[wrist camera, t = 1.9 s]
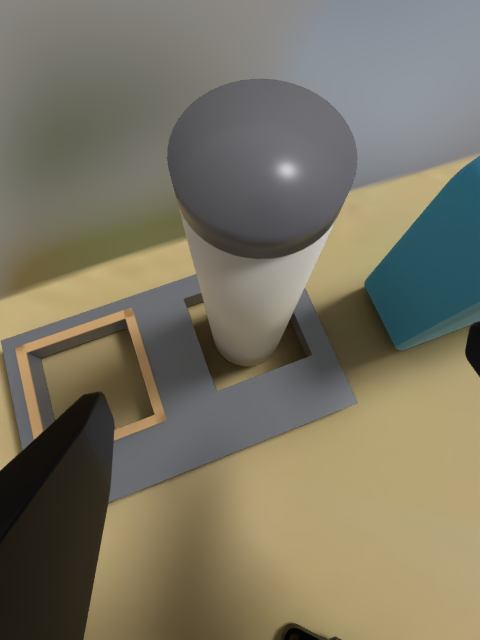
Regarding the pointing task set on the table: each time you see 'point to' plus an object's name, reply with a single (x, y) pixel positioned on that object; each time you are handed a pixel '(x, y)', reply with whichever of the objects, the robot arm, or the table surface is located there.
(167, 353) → the jack panel
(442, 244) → the blue box
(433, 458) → the table surface
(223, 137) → the white cylinder with cap
